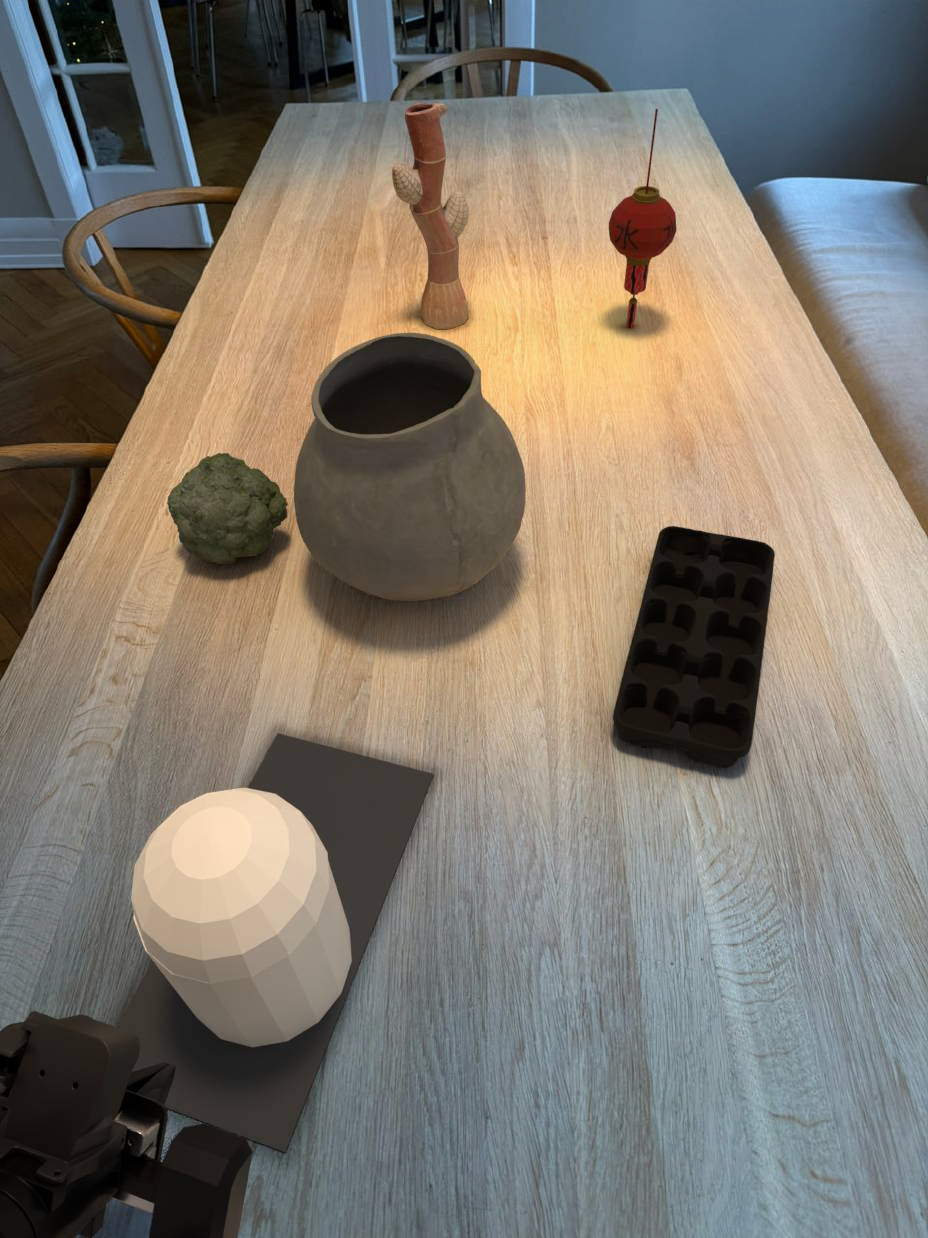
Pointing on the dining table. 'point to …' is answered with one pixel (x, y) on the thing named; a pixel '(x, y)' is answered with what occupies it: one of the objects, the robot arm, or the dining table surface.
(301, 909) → the container
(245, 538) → the vegetable
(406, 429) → the ceramic pot
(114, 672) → the dining table surface
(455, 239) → the vase
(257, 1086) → the plate
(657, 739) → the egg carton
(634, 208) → the lantern
